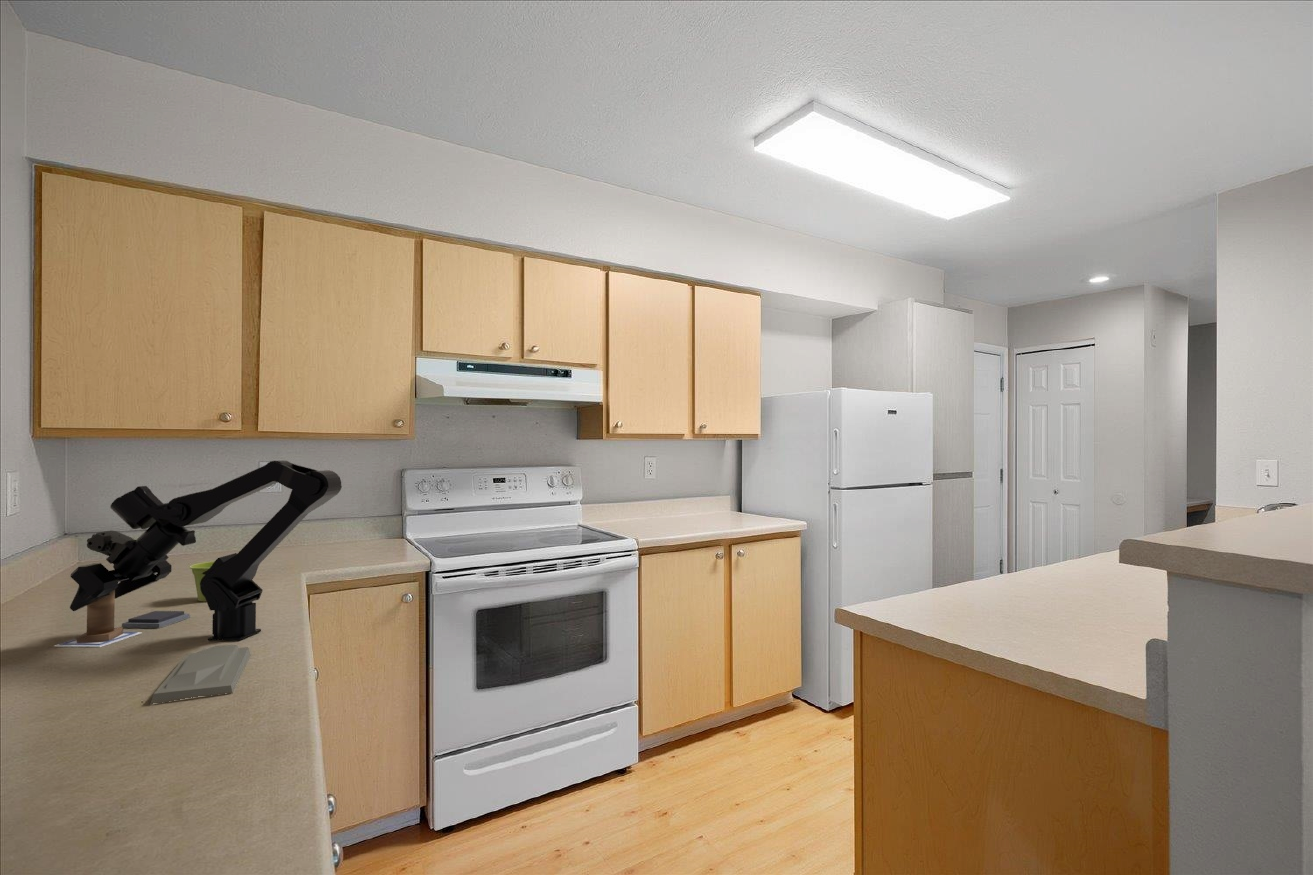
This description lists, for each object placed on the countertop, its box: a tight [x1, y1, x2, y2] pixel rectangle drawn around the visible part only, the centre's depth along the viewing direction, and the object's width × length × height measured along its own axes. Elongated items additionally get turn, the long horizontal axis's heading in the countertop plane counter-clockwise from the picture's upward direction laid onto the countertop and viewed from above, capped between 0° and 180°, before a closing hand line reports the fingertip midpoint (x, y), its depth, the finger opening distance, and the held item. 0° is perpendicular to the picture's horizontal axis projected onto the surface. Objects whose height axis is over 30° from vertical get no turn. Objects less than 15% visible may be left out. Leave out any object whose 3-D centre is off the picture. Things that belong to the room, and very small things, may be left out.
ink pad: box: [121, 610, 191, 629], centre depth 132 cm, size 8×8×2 cm
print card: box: [53, 631, 143, 648], centre depth 120 cm, size 9×9×1 cm
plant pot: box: [189, 560, 216, 603], centre depth 154 cm, size 9×9×9 cm
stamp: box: [76, 590, 124, 643], centre depth 121 cm, size 5×5×12 cm
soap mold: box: [149, 644, 252, 705], centre depth 100 cm, size 10×20×4 cm, turn 26°
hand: (92, 603), depth 120 cm, fingers open, 9 cm apart
